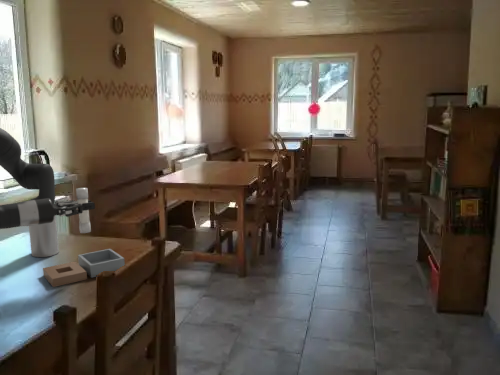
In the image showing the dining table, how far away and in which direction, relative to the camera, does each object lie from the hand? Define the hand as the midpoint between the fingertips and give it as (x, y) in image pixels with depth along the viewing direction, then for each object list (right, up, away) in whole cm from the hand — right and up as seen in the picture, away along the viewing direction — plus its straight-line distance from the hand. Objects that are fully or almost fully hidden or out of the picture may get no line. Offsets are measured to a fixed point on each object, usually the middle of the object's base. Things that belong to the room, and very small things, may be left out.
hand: (92, 204), depth 148 cm
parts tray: (+1, -21, +5) cm, 22 cm away
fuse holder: (-8, -23, -3) cm, 24 cm away
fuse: (-2, -9, 0) cm, 9 cm away
